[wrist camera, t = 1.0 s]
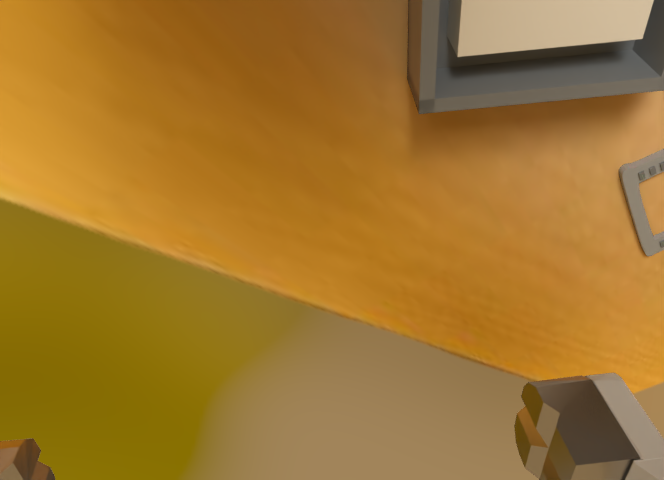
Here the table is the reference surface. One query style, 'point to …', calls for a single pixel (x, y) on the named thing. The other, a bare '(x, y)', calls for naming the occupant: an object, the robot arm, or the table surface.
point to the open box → (531, 51)
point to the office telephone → (630, 183)
